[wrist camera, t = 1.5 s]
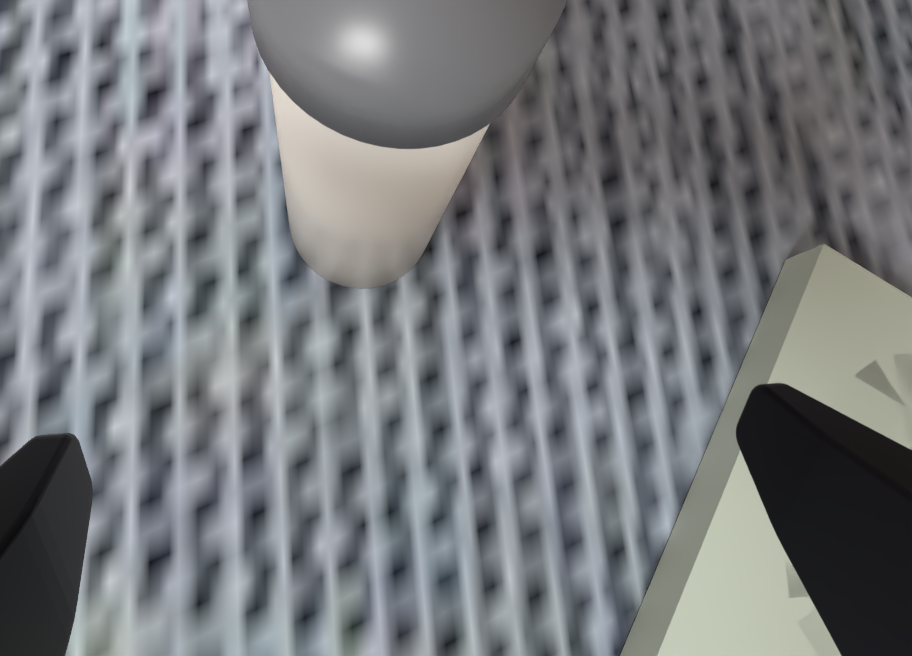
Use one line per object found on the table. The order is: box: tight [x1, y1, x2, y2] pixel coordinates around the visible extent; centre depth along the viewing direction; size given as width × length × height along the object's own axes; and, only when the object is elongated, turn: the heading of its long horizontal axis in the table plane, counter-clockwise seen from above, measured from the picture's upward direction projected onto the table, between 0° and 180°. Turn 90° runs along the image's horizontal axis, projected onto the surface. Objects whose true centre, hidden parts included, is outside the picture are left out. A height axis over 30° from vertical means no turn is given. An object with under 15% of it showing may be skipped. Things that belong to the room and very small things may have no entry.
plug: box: [247, 0, 567, 289], centre depth 16 cm, size 5×5×13 cm
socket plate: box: [620, 244, 912, 656], centre depth 23 cm, size 19×16×2 cm
